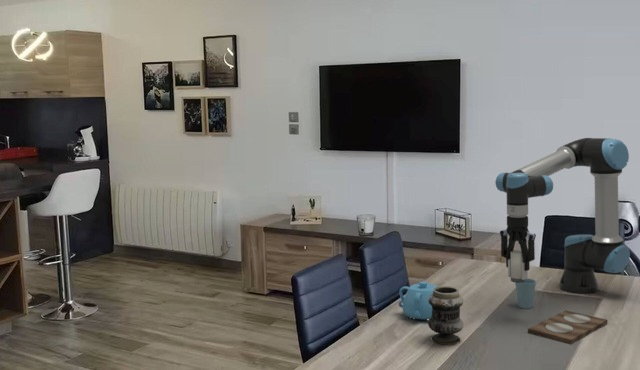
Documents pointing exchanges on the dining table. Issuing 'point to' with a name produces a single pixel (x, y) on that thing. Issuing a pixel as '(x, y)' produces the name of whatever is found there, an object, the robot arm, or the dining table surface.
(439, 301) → the apothecary jar
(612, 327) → the dining table surface
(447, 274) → the dining table surface
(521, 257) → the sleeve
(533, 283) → the cup
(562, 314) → the seat board
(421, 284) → the decorative pot
